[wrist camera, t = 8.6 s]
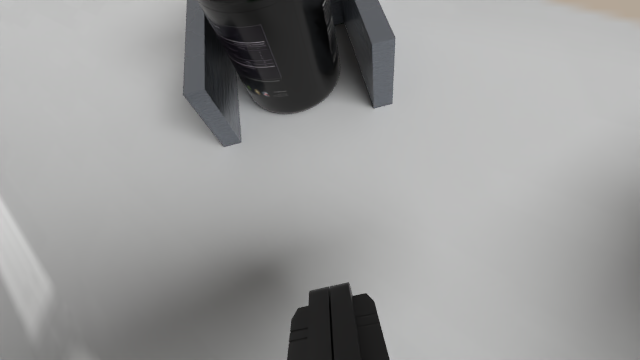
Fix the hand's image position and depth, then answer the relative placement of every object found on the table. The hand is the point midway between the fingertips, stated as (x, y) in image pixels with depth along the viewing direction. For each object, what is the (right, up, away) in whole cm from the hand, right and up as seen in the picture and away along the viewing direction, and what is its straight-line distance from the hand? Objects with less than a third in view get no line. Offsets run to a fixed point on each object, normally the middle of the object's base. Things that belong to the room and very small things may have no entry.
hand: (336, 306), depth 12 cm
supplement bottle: (-2, +12, +11) cm, 17 cm away
